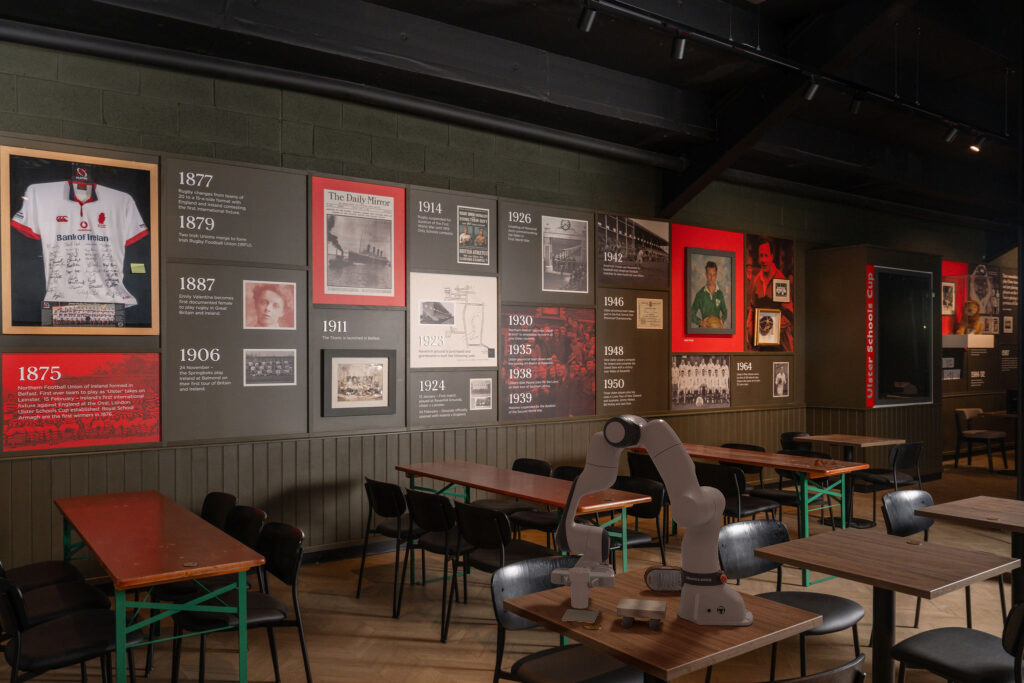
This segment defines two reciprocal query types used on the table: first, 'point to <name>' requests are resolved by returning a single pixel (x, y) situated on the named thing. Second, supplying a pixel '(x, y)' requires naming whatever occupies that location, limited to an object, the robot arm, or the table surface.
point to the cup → (579, 586)
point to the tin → (663, 578)
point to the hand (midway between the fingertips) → (579, 584)
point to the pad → (581, 615)
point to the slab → (642, 611)
